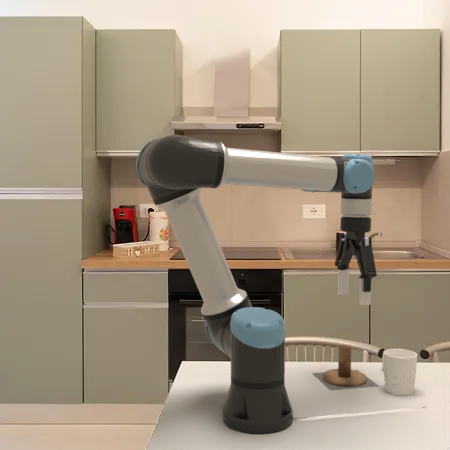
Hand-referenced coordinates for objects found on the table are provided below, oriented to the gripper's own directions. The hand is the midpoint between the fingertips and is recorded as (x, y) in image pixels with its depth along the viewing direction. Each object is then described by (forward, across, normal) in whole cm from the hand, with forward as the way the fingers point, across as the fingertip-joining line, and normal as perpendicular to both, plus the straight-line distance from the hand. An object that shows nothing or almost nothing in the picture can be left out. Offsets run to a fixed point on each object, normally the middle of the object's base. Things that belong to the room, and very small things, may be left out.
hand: (353, 299), depth 149 cm
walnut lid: (+21, +1, +2) cm, 21 cm away
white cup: (+22, -9, -9) cm, 25 cm away
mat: (+22, +1, +2) cm, 22 cm away
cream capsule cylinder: (+22, +5, -14) cm, 26 cm away
